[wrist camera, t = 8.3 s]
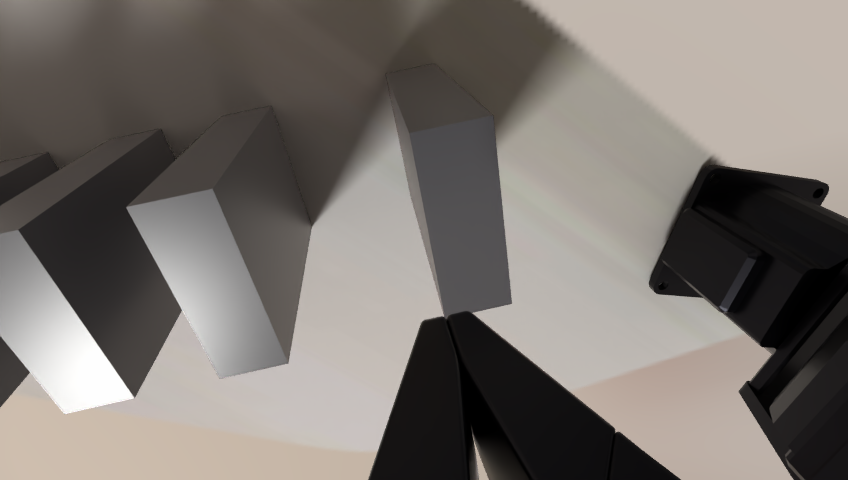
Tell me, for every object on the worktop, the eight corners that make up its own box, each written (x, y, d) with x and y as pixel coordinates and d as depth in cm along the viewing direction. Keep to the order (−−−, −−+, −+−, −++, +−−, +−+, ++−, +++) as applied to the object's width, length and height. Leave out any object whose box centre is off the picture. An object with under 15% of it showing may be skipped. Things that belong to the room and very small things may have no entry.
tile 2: (271, 105, 17) (212, 188, 10) (311, 226, 19) (288, 363, 12) (221, 115, 16) (126, 207, 10) (268, 236, 19) (219, 379, 12)
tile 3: (160, 128, 16) (17, 230, 9) (215, 247, 19) (134, 397, 12) (110, 139, 16) (-71, 249, 9) (171, 257, 19) (64, 413, 12)
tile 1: (434, 63, 17) (492, 115, 10) (453, 189, 19) (512, 303, 12) (385, 73, 17) (409, 133, 10) (411, 198, 19) (445, 319, 12)
